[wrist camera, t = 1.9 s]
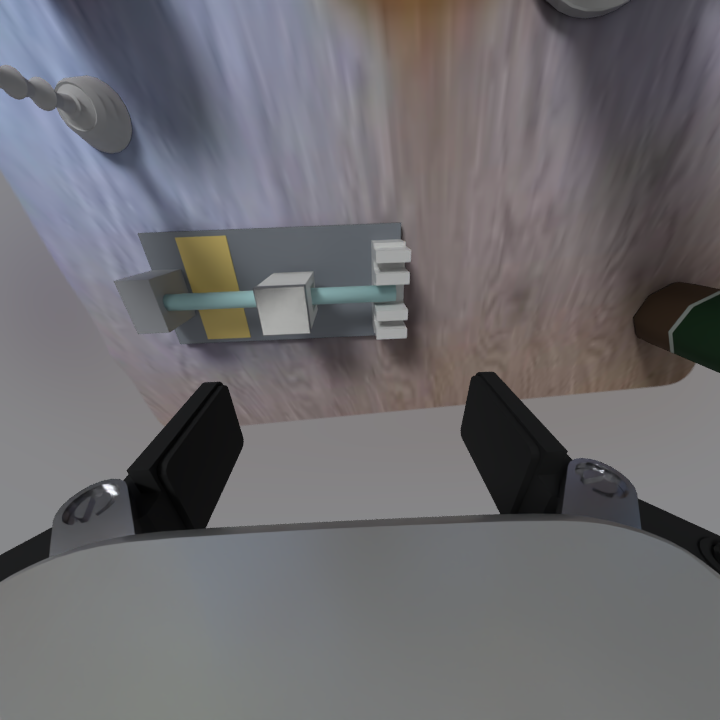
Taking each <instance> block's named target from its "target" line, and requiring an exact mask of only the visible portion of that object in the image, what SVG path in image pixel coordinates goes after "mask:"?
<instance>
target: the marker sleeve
mask: <svg viewBox="0 0 720 720" xmlns="http://www.w3.org/2000/svg"><path fill="white" fill-rule="evenodd" d="M311 288H315V281H314V272H313V271H311V272H288V273H273V274H272V275H270V276H269V277H268V278H267V279H265V280H264V281H263V282H261V283H260V284H259V285H257V286H255V287H253V293H254V297H255V302H256V306H257V311H258V315H259V320H260V324H261V329H262V333H263V336H271V335H293V334H311V329H312V326H313V323H314V320H315V317H316V314H317V311H318V308H317V305H312V297H311Z"/></svg>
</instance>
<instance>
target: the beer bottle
mask: <svg viewBox="0 0 720 720" xmlns="http://www.w3.org/2000/svg"><path fill="white" fill-rule="evenodd" d="M633 318H634V324H635V331H636V335H637V337H639V338H641V339H643V340H645V341H647V342H649V343H651V344H653V345H656V346H658V347H660V348H663V349H665V350H667V351H670V352H672V353H674V354H677V355H679V356H681V357H684V358H686V359H688V360H691V361H693V362H695V363H698V364H700V365H702V366H705V367H707V368H709V369H712V370H714V371H716V372H719V373H720V289H716V288H711V287H706V286H701V285H696V284H689V283H682V282H676V283H673V284H671V285H669V286H667V287H665V288H663V289H661V290H659V291H657V292H655V293H653V294H651V295H649V296H648V298H647V299H646V300H645V302H644V303H643V305H642V306H641V307H640V309H639V310H638V312H637V313H636V314H635V316H634V317H633Z"/></svg>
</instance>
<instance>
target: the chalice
mask: <svg viewBox="0 0 720 720" xmlns="http://www.w3.org/2000/svg"><path fill="white" fill-rule="evenodd" d="M0 88H2V89H3V90H4V91H5V92H6V93H7V94H8V95H10V96H11V97H13V98H15V99H19V100H20V99H24V98H25V97H30V98H31V99H32V100H33V102H34V103H35V104H36V105H37V106H38V107H39V108H41V109H43V110H46V111H51V110H53V109H55V107H56V108H57V110H58V112H59V114H60V116H61V118H62V119H63V120H64V122H65V123H66V124H67V126H68V127H69V128H71V129H72V130H73V131H74V132H75V133H77V134H78V135H79V136H80V137H81V138H82V139H84V140H85V141H86V142H87V143H89V144H90V145H91V146H93V147H94V148H96V149H98V150H100V151H102V152H107V153H117V152H120V151H122V150H123V149H125V148H126V147H127V145H128V144H129V142H130V140H131V134H132V126H131V119H130V116H129V114H128V111H127V109H126V106H125V105H124V103H123V102H122V100H121V98H120V97H119V95H118V94H117V93H116V92H115V91H114V90H113V89H112V88H111V87H110V86H109V85H108V84H106V83H104V82H103V81H101V80H99V79H98V78H94V77H91V76H87V75H86V76H80V77H72V78H71V77H70V78H63V79H62V80H61V81H59V82H58V83H57V85H56V87H55V89H53V88H52V87H51V85H50V84H49V83H48V82H47V81H45V80H44V79H42V78H40V77H32V78H31V79H30V80H27V79H25V78H24V77H23V76H22V75H21V74H20V72H18V71H17V70H16V69H15V68H13V67H11V66H8V65H3V66H1V67H0Z"/></svg>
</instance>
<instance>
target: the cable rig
mask: <svg viewBox="0 0 720 720" xmlns="http://www.w3.org/2000/svg"><path fill="white" fill-rule="evenodd" d="M138 236H139V238H140V241H141V244H142V246H143V249H144V251H145V254H146V256H147V259H148V262H149V264H150V267H151V269H152V270H151V271H148V272H144V273H141V274H137V275H134V276H130V277H127V278H123V279H119V280H116V281H114V283H115V285H116V287H117V290H118V292H119V294H120V296H121V298H122V300H123V303H124V305H125V307H126V309H127V311H128V313H129V316H130V318H131V320H132V322H133V324H134V327H135V329H136V331H137V333H138V334H149V333H169V332H171V331H172V330H174V329H175V332H176V334H177V337H178V339H179V342H180V344H195V343H217V342H239V341H261V340H282V339H304V338H326V337H348V336H370V335H376V339H399V338H407V327H406V325H405V323H404V321H403V320H408V309H407V307H406V306H405V304H404V302H403V297H404V284H409V283H410V272H409V271H408V270H407V269H406V268H405V262H411V249H409V248H407V247H406V242H405V241H403V240H401V223H378V224H353V225H329V226H304V227H279V228H254V229H229V230H204V231H179V232H154V233H138ZM311 271H313V272H314V281H315V288H311V297H312V305H317V308H318V311H317V314H316V317H315V320H314V323H313V326H312V329H311V334H293V335H271V336H263V333H262V329H261V324H260V320H259V315H258V311H257V306H256V302H255V297H254V293H253V287H255V286H257V285H259V284H260V283H261V282H263V281H264V280H265V279H267V278H268V277H269V276H270V275H272V274H273V273H288V272H311Z"/></svg>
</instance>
